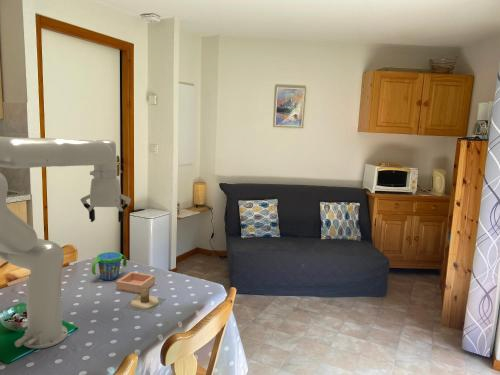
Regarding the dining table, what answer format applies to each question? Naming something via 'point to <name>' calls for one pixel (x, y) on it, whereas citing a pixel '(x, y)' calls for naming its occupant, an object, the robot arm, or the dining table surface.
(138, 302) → the lid
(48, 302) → the robot arm
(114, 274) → the snack cup
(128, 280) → the dish
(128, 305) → the mat
